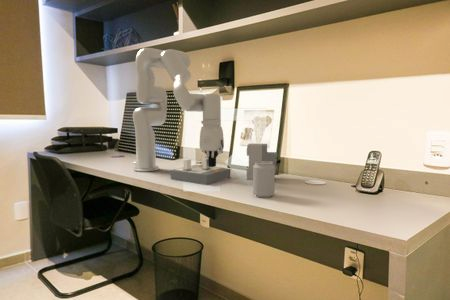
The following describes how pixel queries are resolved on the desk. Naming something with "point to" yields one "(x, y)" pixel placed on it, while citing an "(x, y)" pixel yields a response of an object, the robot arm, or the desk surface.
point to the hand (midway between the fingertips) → (212, 166)
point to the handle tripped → (205, 164)
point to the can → (263, 179)
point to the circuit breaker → (259, 157)
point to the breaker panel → (201, 174)
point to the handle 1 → (187, 164)
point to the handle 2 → (202, 159)
